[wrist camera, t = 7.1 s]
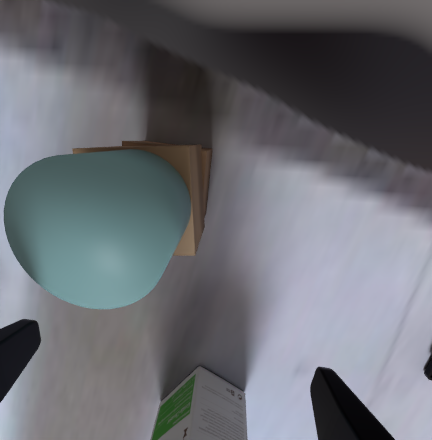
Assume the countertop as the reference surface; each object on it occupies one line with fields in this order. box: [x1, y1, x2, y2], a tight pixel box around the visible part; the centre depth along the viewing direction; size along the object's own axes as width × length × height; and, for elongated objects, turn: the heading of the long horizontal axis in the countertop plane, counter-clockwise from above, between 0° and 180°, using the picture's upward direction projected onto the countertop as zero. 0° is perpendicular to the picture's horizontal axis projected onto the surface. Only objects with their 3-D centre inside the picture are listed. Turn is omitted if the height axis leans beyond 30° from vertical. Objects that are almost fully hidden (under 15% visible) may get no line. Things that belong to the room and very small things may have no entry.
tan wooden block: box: [72, 145, 204, 256], centre depth 12 cm, size 5×5×4 cm
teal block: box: [4, 149, 191, 309], centre depth 9 cm, size 5×5×4 cm
